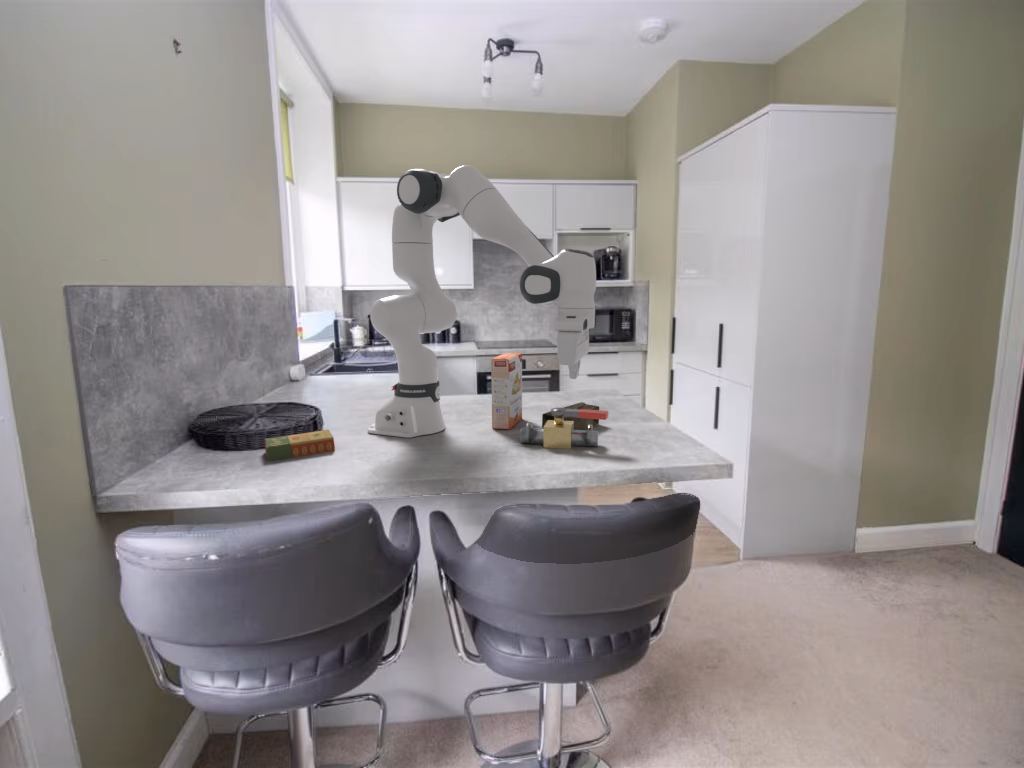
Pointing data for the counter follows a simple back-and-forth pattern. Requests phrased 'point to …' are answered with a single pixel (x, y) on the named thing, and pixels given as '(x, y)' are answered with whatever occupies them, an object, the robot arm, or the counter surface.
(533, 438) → the valve body
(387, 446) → the counter surface
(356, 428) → the counter surface
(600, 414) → the lever
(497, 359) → the cracker box
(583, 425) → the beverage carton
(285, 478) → the counter surface
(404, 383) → the robot arm
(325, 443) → the carton
